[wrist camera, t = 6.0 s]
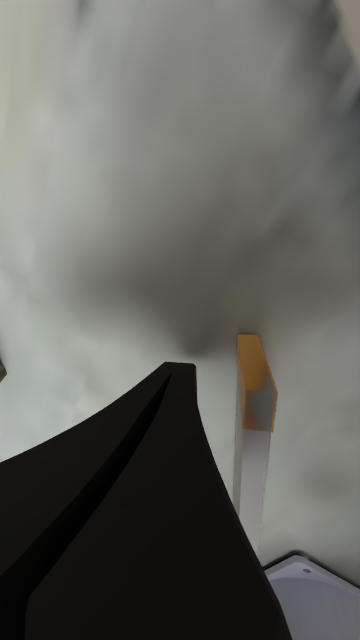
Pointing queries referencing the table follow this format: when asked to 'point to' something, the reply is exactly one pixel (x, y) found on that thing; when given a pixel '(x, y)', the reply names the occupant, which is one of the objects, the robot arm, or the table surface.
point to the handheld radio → (2, 372)
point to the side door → (252, 433)
